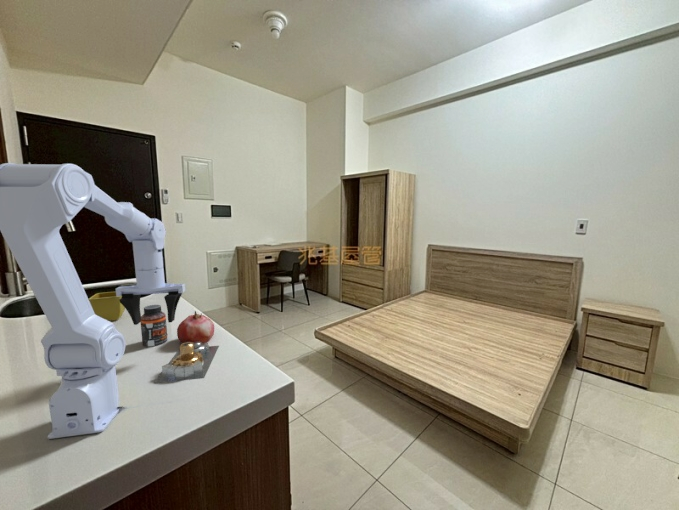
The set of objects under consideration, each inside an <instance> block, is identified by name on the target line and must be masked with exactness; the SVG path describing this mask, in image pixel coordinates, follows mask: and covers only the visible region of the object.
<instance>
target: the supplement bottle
mask: <svg viewBox="0 0 679 510" xmlns="http://www.w3.org/2000/svg"><path fill="white" fill-rule="evenodd" d="M167 330H168V328H167V316H166V313H165V312H163V311H162V306H161V305H160V304H152V305H147V306H144V307H143V314H142V315H141V322H140V331H141V341H142V342H141V344H142V346H143V347H145V348H153V347H157V346H160V345H164V344H165V343H166V342H167V341H168V331H167Z"/></svg>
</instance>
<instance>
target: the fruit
mask: <svg viewBox="0 0 679 510" xmlns="http://www.w3.org/2000/svg"><path fill="white" fill-rule="evenodd" d="M214 333H215V323H214V322H213V321H212V319H211V318H209V317H208V316H206V315H204V314H203V313H200V314H199V313H197V311H196V310H194V314H191V315H188V316H187V317H186V318H185V319H183V320H182V321H181V322H180V323H179V325H178V326H177V329H176V336H177V339H178V341H179V342H180V343H181V344H182V343H185V342H196V341H200V342H201V343H205V342H206V343H209V342H210V340H211V339H212V337H214Z"/></svg>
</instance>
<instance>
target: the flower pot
mask: <svg viewBox="0 0 679 510" xmlns="http://www.w3.org/2000/svg"><path fill="white" fill-rule="evenodd" d="M121 297H122V296H116V291H107V292H97V293H95V294H94V295H92V296H90V297H89V298H88V299H89V302H90V304H91V306H92V309H93V311H94V313H95V315H97V316H99V317H101V318H103V319H106V320H108V321H110V322H113V321H118V320H120V318H121V317H122V316H123V314H124V313H125V309H126V308H125V307H124V306H123V305H122V304H121V303H120V301H119V299H121Z"/></svg>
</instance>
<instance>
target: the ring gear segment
mask: <svg viewBox="0 0 679 510" xmlns="http://www.w3.org/2000/svg"><path fill="white" fill-rule="evenodd" d="M202 372H203V370H202V362H200V361H198V362H195V363H192V364H189V365H184V366H171V365H169V364H168V363H166V364H164V365H161V373H162V374H163V377H165V378H167V379H184V378H189V377H192V376H195V375H198V374H200V373H202Z"/></svg>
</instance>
